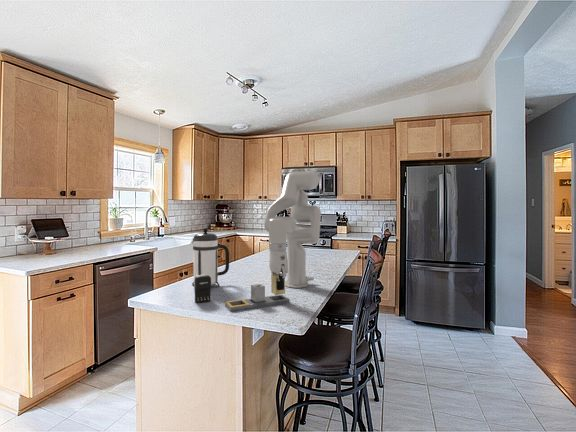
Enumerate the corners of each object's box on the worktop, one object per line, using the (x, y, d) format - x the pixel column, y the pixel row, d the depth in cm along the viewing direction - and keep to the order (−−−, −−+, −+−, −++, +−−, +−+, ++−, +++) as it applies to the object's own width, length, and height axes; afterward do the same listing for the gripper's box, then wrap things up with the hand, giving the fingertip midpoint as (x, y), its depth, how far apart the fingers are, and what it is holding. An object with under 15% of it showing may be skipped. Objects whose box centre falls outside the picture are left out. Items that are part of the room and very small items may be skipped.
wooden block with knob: (280, 290, 143) (280, 273, 142) (285, 293, 139) (284, 275, 138) (271, 292, 141) (271, 274, 140) (275, 295, 137) (275, 276, 136)
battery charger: (195, 304, 135) (195, 277, 135) (193, 301, 139) (193, 275, 138) (212, 301, 139) (212, 275, 138) (210, 299, 142) (209, 273, 142)
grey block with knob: (260, 302, 138) (260, 283, 138) (264, 305, 134) (264, 286, 134) (251, 303, 136) (251, 284, 136) (254, 306, 132) (254, 287, 132)
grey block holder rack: (281, 298, 144) (281, 294, 144) (289, 303, 137) (289, 298, 137) (225, 305, 133) (225, 301, 133) (230, 311, 126) (230, 307, 126)
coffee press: (212, 291, 156) (212, 229, 155) (184, 288, 161) (184, 228, 160) (229, 283, 172) (229, 227, 171) (204, 280, 177) (203, 226, 176)
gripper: (294, 249, 133) (294, 292, 134) (277, 243, 148) (277, 282, 149) (277, 250, 129) (278, 294, 131) (262, 244, 144) (262, 284, 146)
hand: (278, 287), depth 140 cm, fingers closed on wooden block with knob, 4 cm apart
